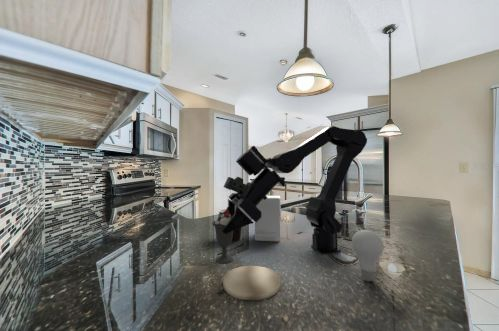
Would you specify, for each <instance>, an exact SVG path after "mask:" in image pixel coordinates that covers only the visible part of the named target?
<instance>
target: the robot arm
mask: <svg viewBox="0 0 499 331" xmlns="http://www.w3.org/2000/svg"><path fill="white" fill-rule="evenodd" d="M328 143H330V144H332V145H334V146H335V148H336V149H335V150H336V157H335V159H334V162H333V163H332V165H331V168H330V170H329V172H328V174H327V176H326V179H325V180H324V184H323V185H322V188H321V190H320V192H319V194H318V195H317V196H316V197H313V196H310V198H309V199H308V204H307V205H306V206H305V209H306V211H305V216H306V219H307V221H309V223H310V226H311V227H312V228H313V233H312V237H311V238H312V240H311V241H312V244H311V245H310V248H312V249H314V250H315V251H316V252H319V253H320V254H323V255H325V254H326V255H327V254H335V253H342V252H341V251H342V250H341V249H339V248H338V233H341V231H342V228H343V224H341V223H340V221H338V219H337V218H336V217H335V216H336V211H337V208H336V206H337V205H336V199H337V197H338V195H339V192H340V190H341V189H342V188H341V187H342V186H343V183H344V181H345V179H346V177H347V174H348V172H349V170H350V166H351V165H352V162H353V160H354V159H356V157H357V156H359V155H360V154H361V153H362V152H363V150H364V149H365V147H366V146H367V144H368V138H367V136H366V134H365V133H364V132H363V130H359V129H358V130H354V129H349V128H342V127H338V126H335V125H331V126H327V127H325V128H323V129H322V130H321V131H319V132H317V133H316V134H315V135H313V136H311V137H310V138H308V139H307V140H305V141H304V142H302V143H301V144H299V145H297V146H295V147H293V148H292V149H288V150H286V151H283V152H281V153H278V154H276V155H274V156H273V157H268V158H266V157H264V155H262V153H261V152H260V151H259V150H258V148H257V147H256V146H255V145H253V146H251V147H249V149H247V150H246V151H245V152H244V153H242V154H241V155H240V156H239V157H237V159H236V161H235V162H236V164H238V165H239V166H240V167H241V169H242V170H243V171H244V172H245V173H246V174H247V175H248V176H252V175H253V176H256V177H255V178H254V179H253V180H252V181H249V182H247V183H245V182H244V178H242V177H241V176H236V177H235V178H234V177H230V176H228V177H227V178H226V181H225V183H224V185H223V188H225V189H227V190H229V191H233V192H231V194H230V195H229V196H228V198H227V206H228V205H230V207H229V208H228V209H227V208H225V209H226V210H228V211H229V214H230V215H231V219H230V220H229V222H228V223H227V225H226V226H225V228H224V229H223V233H224V234H227V233H229V232H231V231H234V230H236V229H239V228H241V227H242V228H244V227H246V226H248V225H253V224H254V223H255V222H256V223H257V222H258V221H259V219H260V218H261V211H260V210H259V209H258V208H257V207H256V206H257V205H258V204H259V203H260V202H261V201H262V200H263V199H264V200H266V199H267V196H268V194H270V192H271V191H272V190H273V189H274V188H275V187H276V186H279V187H286V182H285V180H286V177H284V176H280V174H289V173H292V172H293V171H294V170H296V168H298V167H299V165H300V164H301V163H302V161H303V160H304V159H305V158H306V157H308V156H309V155H311V154H312V153H315V152H316V151H317V150H319V149H320V148H322V147H323V146H325V145H327V144H328ZM271 169H272V170H271ZM242 228H241V229H242Z"/></svg>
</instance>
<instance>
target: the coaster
mask: <svg viewBox="0 0 499 331" xmlns="http://www.w3.org/2000/svg"><path fill="white" fill-rule="evenodd" d="M280 279H281V278H280V276H279V274H278V273H277V272H276V271H274V270H272V269H271V268H268V267H264V266H258V265H244V266H239V267H236V268H233V269H230V270H229V271H228V272H226V273H225V274H224V276H223V279H222V280H223V283H222V286H223V289H224V292H226V293H227V294H228V295H229V296H231V297H232V298H235V299H237V300H243V301H261V300H265V299H268V298H271V297H272V296H275V294H277V293H278V292H279V290H280V288H281V280H280Z"/></svg>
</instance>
